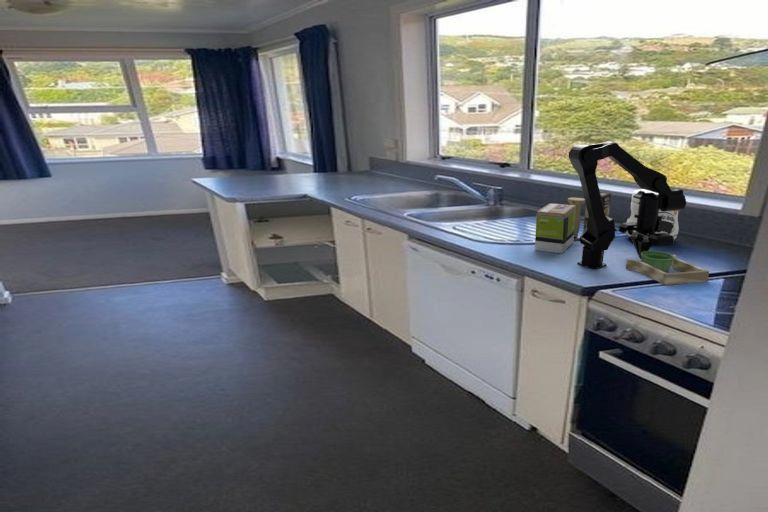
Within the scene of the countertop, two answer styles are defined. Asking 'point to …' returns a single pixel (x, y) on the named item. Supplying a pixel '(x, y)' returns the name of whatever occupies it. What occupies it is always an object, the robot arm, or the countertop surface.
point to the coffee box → (606, 206)
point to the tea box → (555, 228)
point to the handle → (576, 212)
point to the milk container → (666, 215)
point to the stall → (685, 276)
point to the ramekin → (657, 259)
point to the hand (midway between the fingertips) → (641, 258)
